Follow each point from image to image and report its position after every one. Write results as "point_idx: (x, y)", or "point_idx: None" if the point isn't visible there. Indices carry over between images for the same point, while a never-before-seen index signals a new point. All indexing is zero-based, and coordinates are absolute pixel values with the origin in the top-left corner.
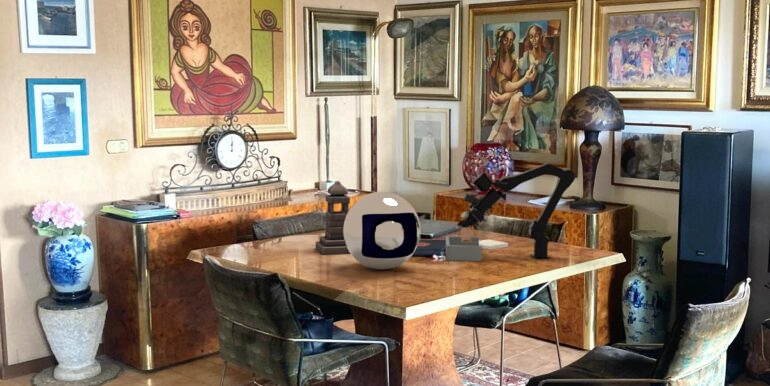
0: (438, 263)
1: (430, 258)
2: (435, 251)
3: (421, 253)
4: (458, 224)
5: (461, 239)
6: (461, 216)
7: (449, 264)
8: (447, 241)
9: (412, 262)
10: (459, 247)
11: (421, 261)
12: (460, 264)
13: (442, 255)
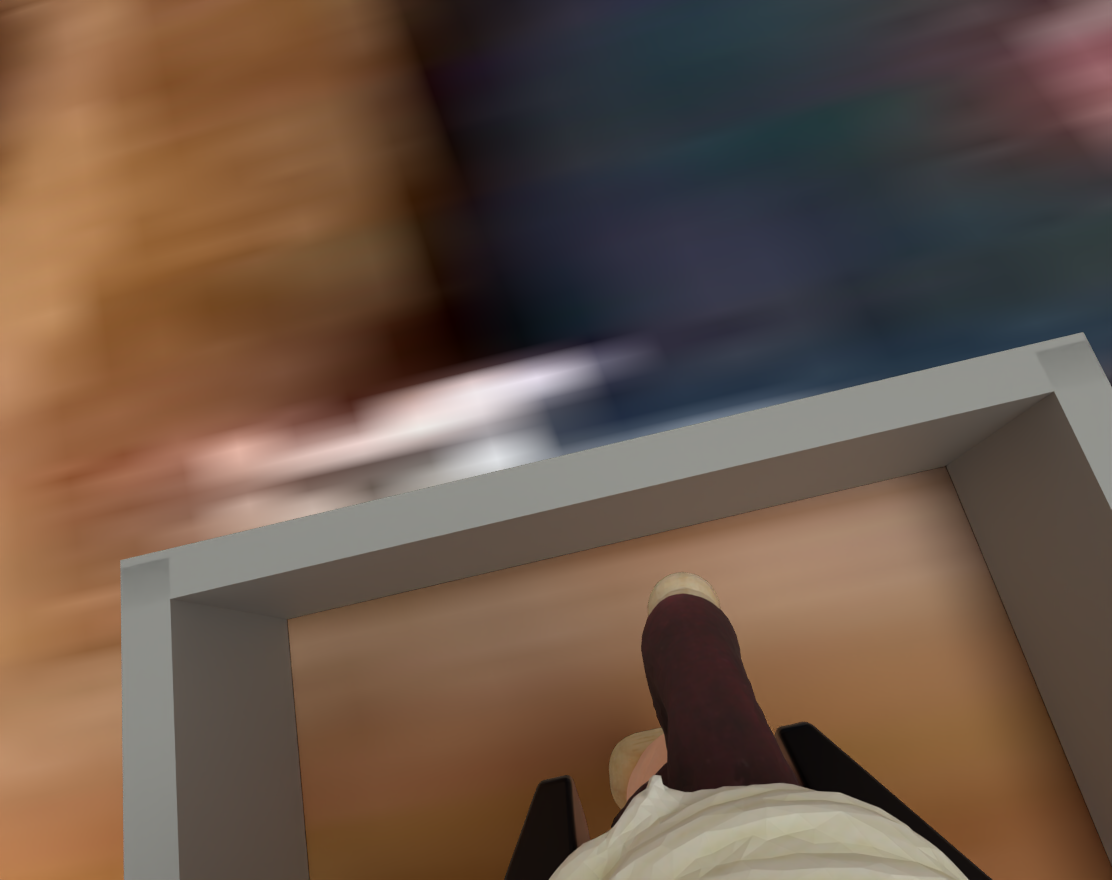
0: (64, 535)
1: (334, 382)
2: (790, 330)
3: (597, 220)
4: (646, 652)
5: (658, 736)
6: (622, 817)
7: (19, 679)
8: (534, 482)
9: (88, 268)
10: (138, 790)
11: (150, 335)
12: (29, 827)
13: None
